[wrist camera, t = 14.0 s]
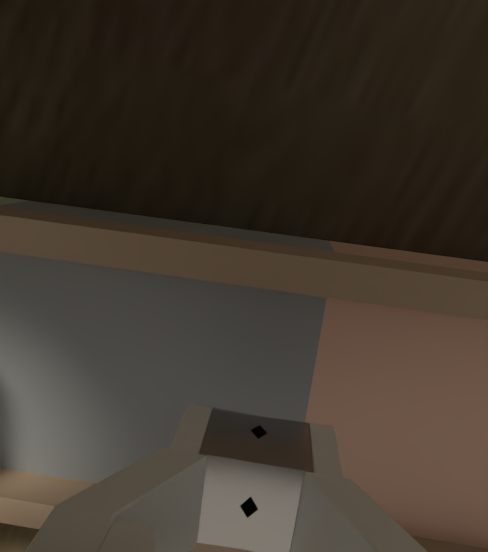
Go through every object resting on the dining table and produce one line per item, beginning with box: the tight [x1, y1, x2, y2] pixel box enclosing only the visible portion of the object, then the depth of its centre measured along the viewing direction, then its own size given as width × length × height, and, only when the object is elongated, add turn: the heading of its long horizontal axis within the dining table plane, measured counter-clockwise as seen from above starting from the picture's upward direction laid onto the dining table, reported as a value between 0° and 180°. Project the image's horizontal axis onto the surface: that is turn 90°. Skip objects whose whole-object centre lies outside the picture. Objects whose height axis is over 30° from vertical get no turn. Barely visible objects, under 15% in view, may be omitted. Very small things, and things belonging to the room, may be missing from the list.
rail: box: [0, 197, 488, 552], centre depth 12 cm, size 8×24×2 cm, turn 83°
